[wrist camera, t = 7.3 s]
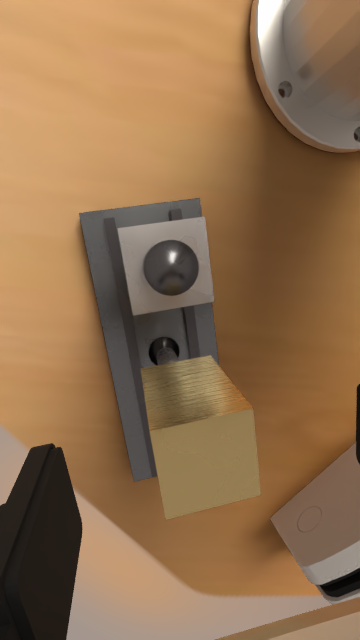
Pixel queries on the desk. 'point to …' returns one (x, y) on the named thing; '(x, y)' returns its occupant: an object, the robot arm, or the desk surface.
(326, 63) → the robot arm
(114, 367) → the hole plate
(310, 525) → the white black arched block
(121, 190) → the desk surface
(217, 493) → the tan square-headed peg
